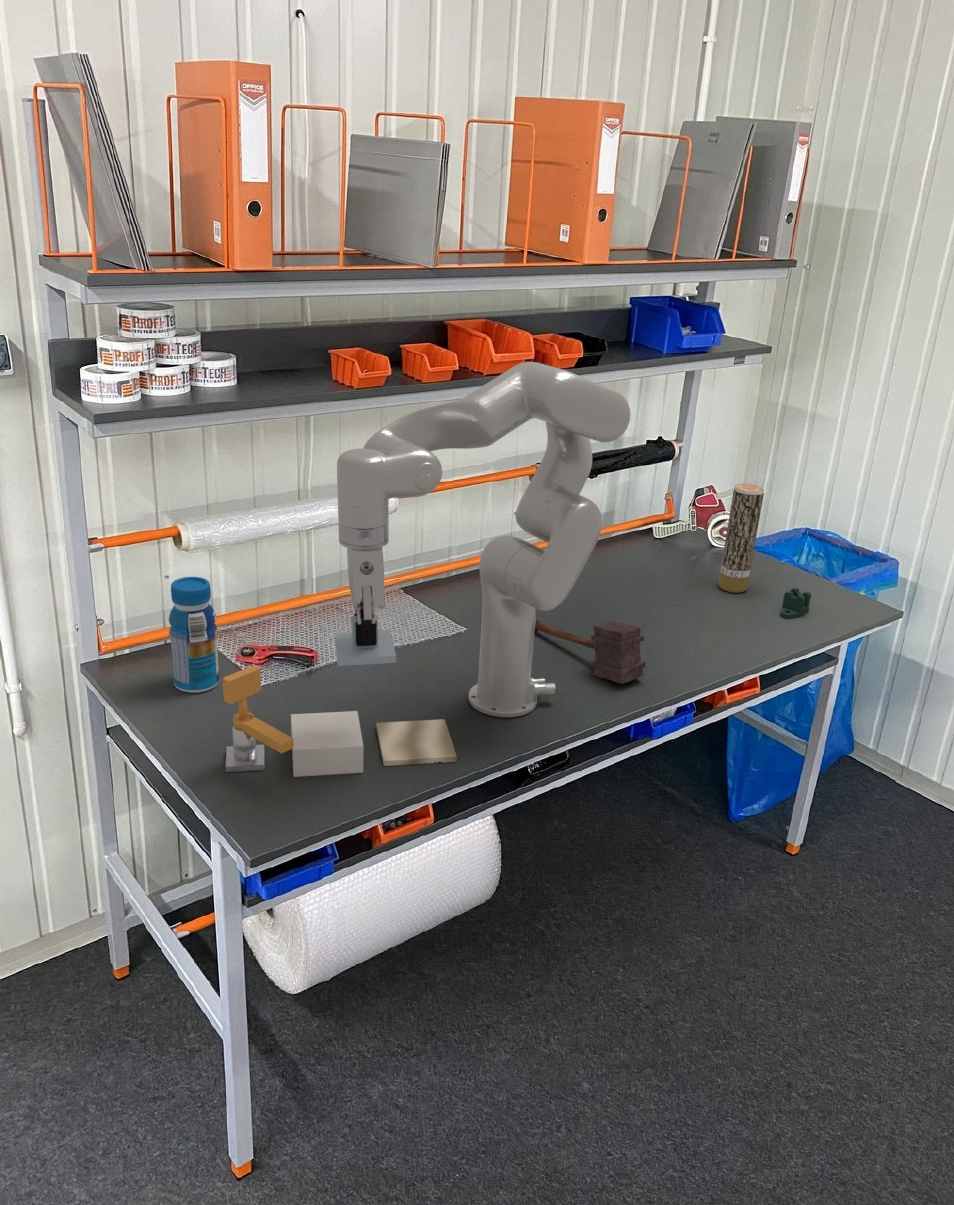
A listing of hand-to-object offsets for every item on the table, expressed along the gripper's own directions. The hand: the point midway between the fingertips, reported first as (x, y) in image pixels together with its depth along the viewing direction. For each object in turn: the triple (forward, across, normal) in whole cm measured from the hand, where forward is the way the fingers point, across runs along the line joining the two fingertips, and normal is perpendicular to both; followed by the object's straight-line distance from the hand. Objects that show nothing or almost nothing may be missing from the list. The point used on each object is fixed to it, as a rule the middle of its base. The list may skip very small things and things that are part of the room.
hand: (365, 639), depth 161 cm
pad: (+21, +1, -8) cm, 22 cm away
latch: (+13, -5, +17) cm, 22 cm away
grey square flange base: (+20, -2, +20) cm, 28 cm away
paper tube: (+24, +63, -92) cm, 114 cm away
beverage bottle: (+20, +25, +29) cm, 44 cm away
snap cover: (+2, 0, 0) cm, 2 cm away
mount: (+24, +49, -102) cm, 115 cm away
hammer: (+23, +32, -44) cm, 59 cm away
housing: (+20, -1, +7) cm, 22 cm away
